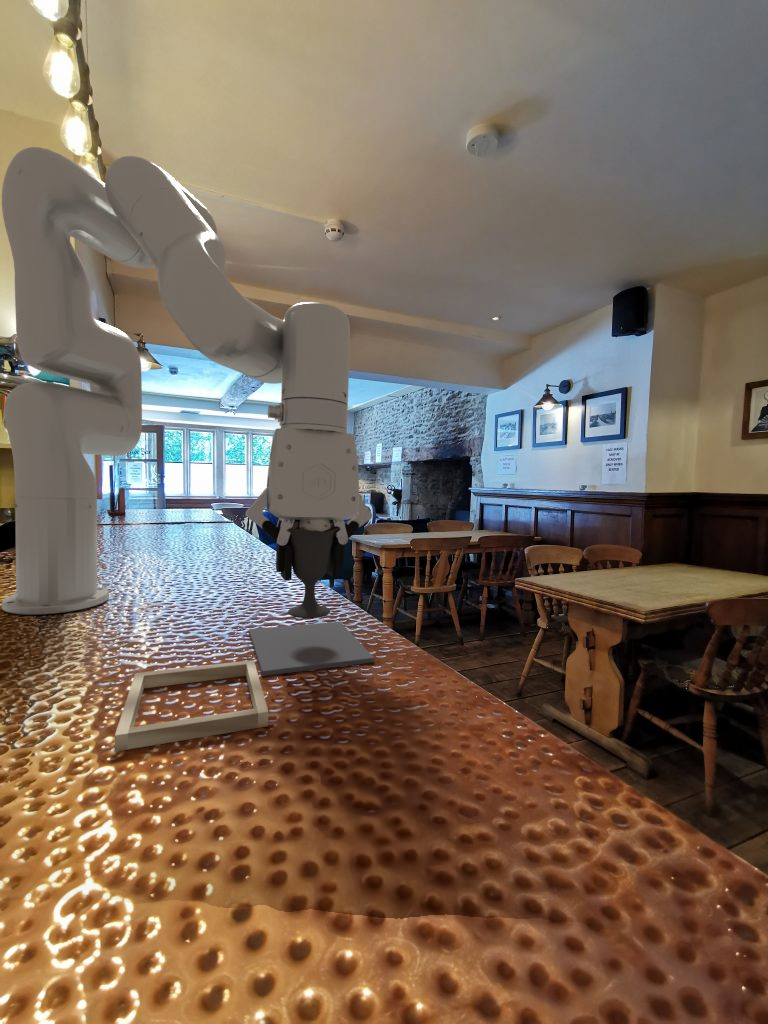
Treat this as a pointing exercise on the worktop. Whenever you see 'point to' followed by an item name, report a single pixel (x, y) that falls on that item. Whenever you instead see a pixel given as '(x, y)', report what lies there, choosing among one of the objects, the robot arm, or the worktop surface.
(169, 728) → the frame
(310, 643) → the bar mat
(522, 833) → the worktop surface
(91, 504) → the robot arm
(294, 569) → the sundae
